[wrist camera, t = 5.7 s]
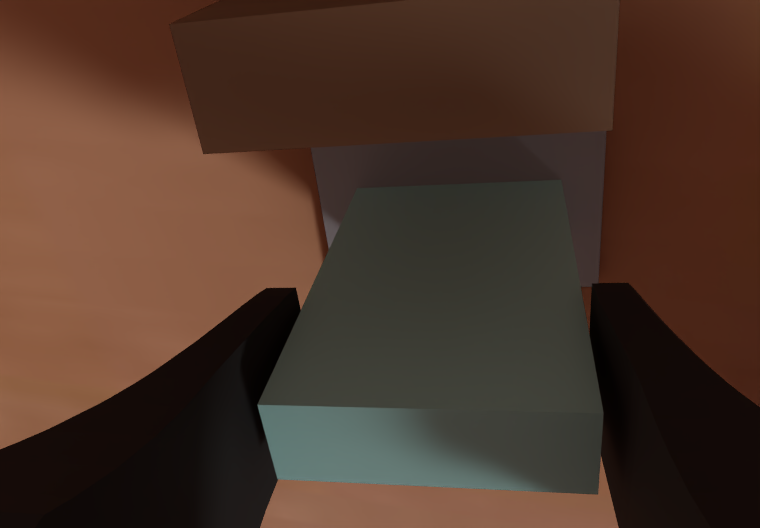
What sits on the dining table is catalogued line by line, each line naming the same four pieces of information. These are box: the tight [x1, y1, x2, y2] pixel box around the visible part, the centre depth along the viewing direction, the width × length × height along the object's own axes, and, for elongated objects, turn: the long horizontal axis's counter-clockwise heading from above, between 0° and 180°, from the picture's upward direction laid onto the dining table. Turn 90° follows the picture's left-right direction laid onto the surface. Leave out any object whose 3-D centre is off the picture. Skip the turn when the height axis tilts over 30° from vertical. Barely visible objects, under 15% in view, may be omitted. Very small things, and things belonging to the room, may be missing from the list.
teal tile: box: [258, 180, 604, 494], centre depth 13 cm, size 2×5×8 cm, turn 97°
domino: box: [169, 0, 620, 154], centre depth 11 cm, size 2×5×8 cm, turn 97°
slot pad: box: [311, 131, 606, 287], centre depth 17 cm, size 4×7×1 cm, turn 97°
